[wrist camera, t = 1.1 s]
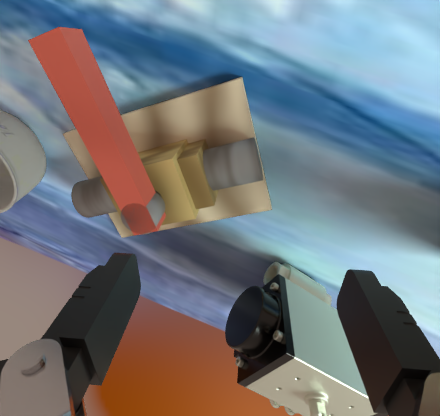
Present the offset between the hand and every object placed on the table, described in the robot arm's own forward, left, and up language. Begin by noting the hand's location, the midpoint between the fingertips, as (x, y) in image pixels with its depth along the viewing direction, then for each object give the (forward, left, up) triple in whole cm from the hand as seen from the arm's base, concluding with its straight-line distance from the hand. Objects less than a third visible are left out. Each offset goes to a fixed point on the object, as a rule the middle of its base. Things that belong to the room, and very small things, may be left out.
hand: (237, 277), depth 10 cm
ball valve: (-1, +23, -23) cm, 32 cm away
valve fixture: (+10, +2, -22) cm, 25 cm away
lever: (+10, -4, -13) cm, 17 cm away
